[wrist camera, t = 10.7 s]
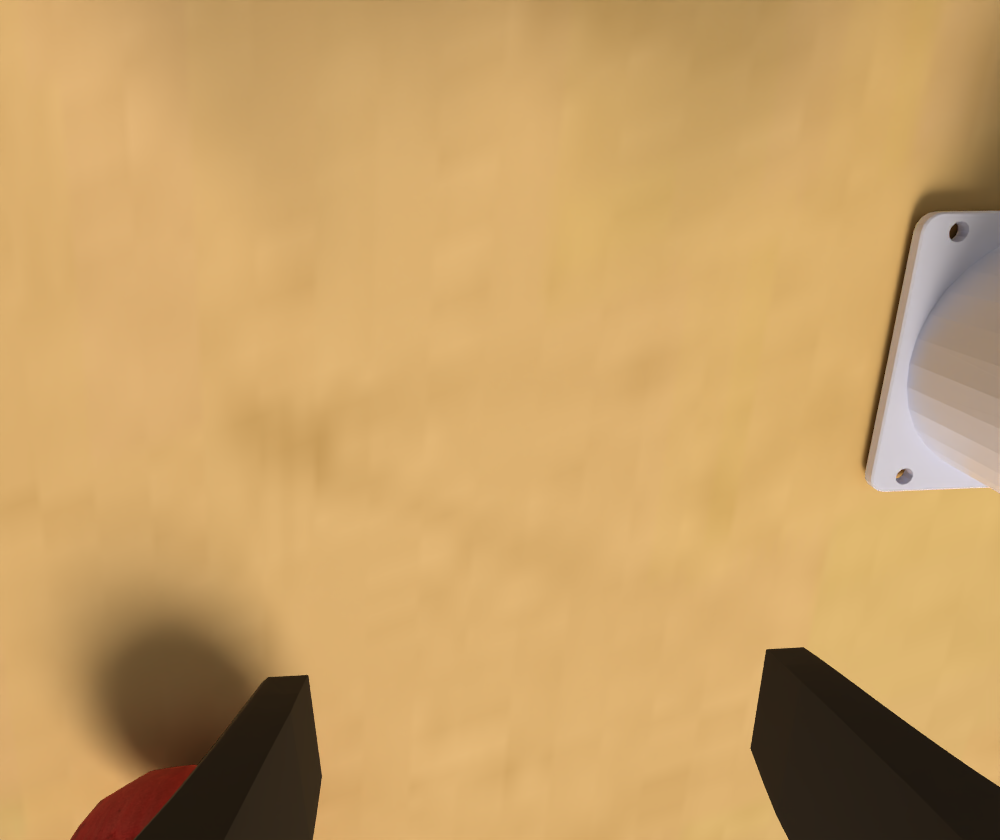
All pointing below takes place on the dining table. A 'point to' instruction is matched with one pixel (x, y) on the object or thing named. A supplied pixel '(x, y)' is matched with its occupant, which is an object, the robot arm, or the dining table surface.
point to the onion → (132, 805)
